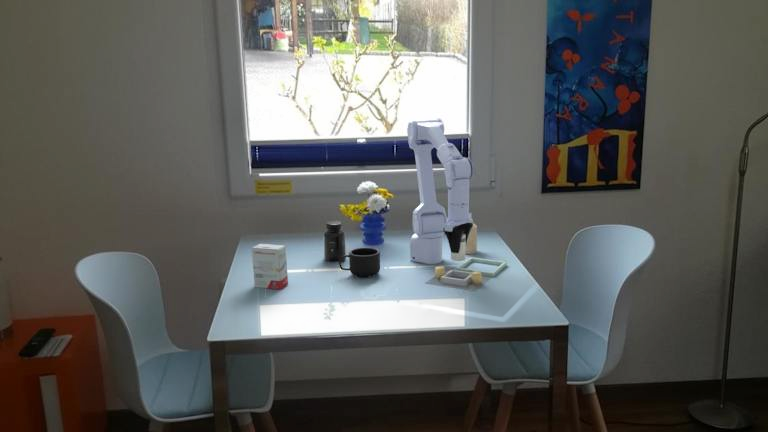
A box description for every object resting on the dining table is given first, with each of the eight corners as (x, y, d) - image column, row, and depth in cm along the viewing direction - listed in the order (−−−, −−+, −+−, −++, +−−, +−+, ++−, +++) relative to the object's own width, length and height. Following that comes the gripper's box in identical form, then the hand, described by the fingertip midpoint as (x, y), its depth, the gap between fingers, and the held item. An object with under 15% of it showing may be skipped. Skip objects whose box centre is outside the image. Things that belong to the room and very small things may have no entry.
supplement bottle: (320, 261, 223) (318, 224, 220) (330, 255, 229) (328, 219, 226) (340, 263, 220) (338, 226, 217) (349, 257, 226) (348, 220, 224)
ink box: (289, 284, 202) (286, 244, 199) (281, 290, 198) (278, 249, 195) (262, 281, 205) (259, 242, 202) (253, 287, 200) (251, 247, 198)
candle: (476, 254, 226) (476, 224, 224) (458, 254, 227) (458, 223, 225) (477, 249, 232) (477, 220, 229) (460, 249, 233) (460, 219, 230)
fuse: (448, 259, 197) (448, 235, 196) (454, 255, 201) (454, 232, 199) (462, 261, 195) (462, 237, 194) (467, 257, 199) (467, 233, 197)
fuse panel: (424, 286, 198) (424, 272, 197) (442, 274, 208) (442, 261, 207) (475, 294, 191) (475, 280, 190) (490, 281, 201) (491, 267, 200)
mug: (377, 268, 214) (376, 246, 213) (382, 278, 206) (382, 254, 204) (338, 272, 212) (337, 249, 211) (341, 281, 204) (341, 257, 202)
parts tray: (455, 274, 208) (455, 268, 207) (470, 263, 218) (470, 257, 217) (493, 280, 202) (493, 273, 202) (506, 268, 212) (506, 262, 212)
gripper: (461, 209, 186) (461, 259, 189) (481, 198, 198) (481, 245, 202) (437, 207, 189) (437, 256, 193) (458, 196, 202) (458, 242, 205)
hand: (458, 250), depth 197 cm, fingers closed on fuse, 4 cm apart
